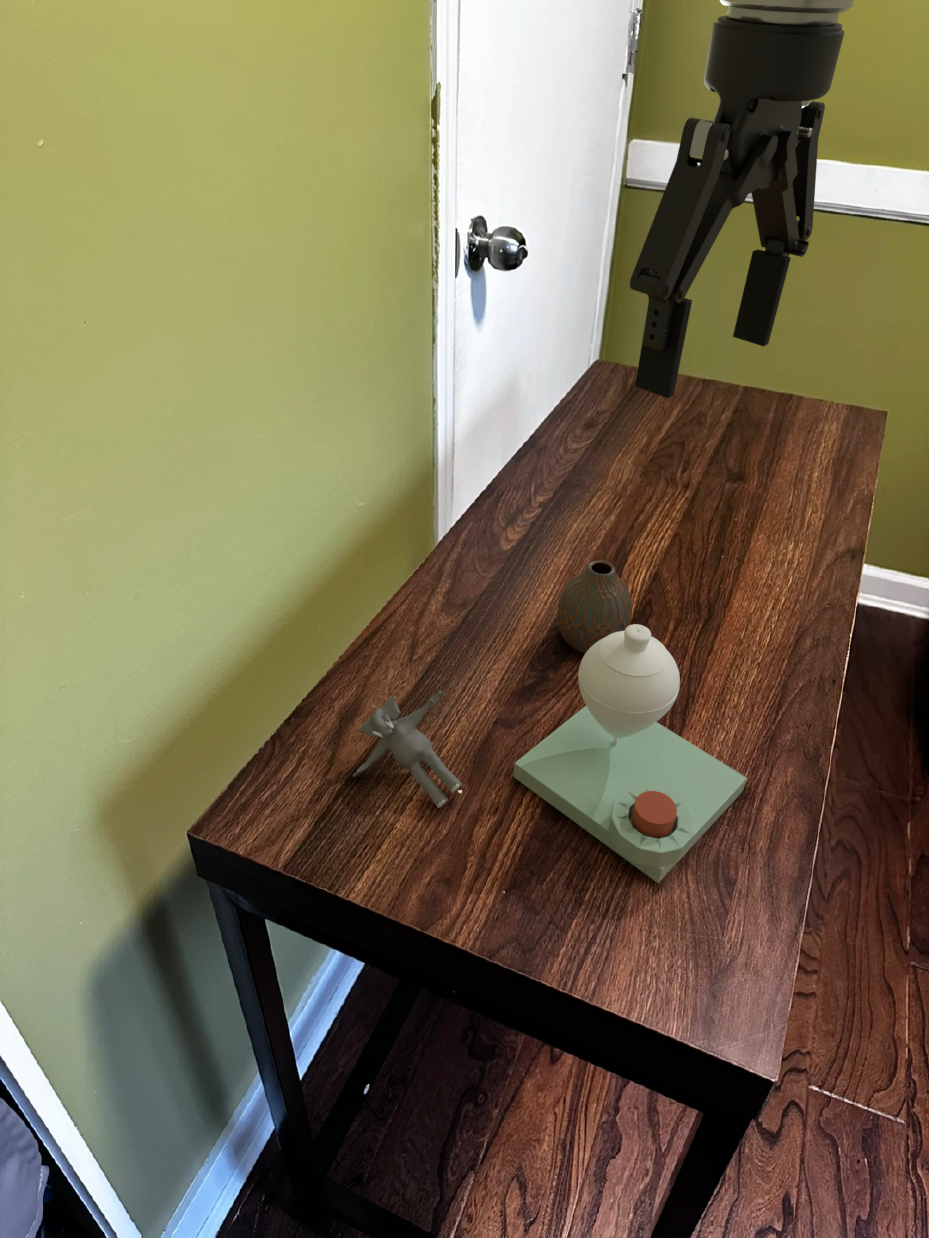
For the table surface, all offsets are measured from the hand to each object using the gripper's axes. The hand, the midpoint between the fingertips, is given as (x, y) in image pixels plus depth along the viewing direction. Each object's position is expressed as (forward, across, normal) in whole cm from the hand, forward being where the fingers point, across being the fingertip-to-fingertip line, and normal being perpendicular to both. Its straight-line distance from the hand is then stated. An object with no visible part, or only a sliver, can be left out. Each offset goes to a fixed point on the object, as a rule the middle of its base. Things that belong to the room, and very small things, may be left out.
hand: (705, 364), depth 64 cm
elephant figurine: (+29, +25, -5) cm, 39 cm away
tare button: (+25, +19, +13) cm, 34 cm away
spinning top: (+27, +13, +6) cm, 30 cm away
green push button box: (+28, +14, +8) cm, 33 cm away
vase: (+29, +2, -4) cm, 29 cm away
